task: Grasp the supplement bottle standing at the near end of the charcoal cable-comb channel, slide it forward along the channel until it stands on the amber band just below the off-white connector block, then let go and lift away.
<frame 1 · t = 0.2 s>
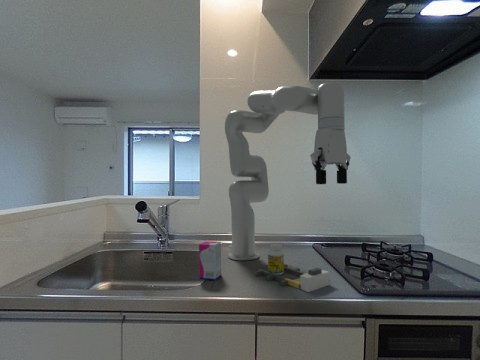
hand: (331, 183, 90), 31 cm above the counter, tool pointing down, fingers open, 9 cm apart
supplement box: (210, 277, 100), on the counter
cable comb: (288, 277, 99), on the counter
supplement bottle: (276, 273, 104), on the counter
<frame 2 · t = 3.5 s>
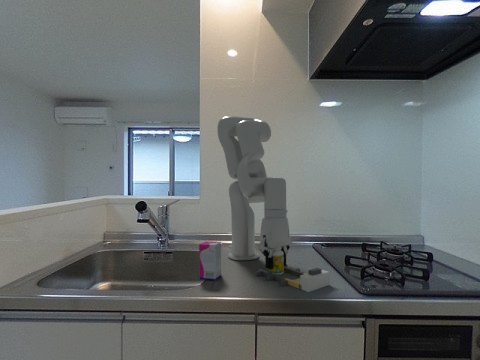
hand: (275, 266, 104), 2 cm above the counter, tool pointing down, fingers closed on supplement bottle, 5 cm apart
supplement bottle: (276, 273, 104), on the counter, touching gripper
everything else where it was.
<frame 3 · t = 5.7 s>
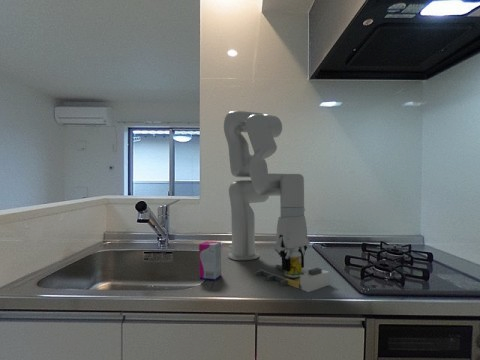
hand: (292, 268, 98), 4 cm above the counter, tool pointing down, fingers closed on supplement bottle, 5 cm apart
supplement bottle: (293, 275, 98), point 1 cm above the counter, touching gripper
everything else where it was.
when the fingers open (3 cm above the counter, at t = 7.9 s): supplement bottle stays where it is, resting on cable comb.
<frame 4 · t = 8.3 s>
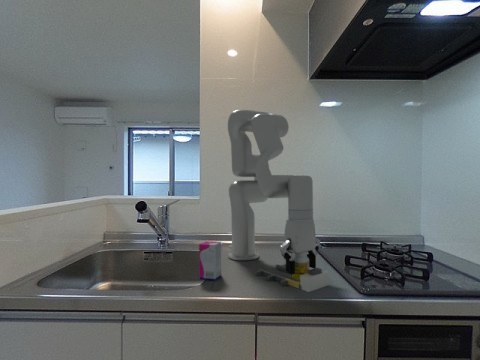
hand: (301, 270, 95), 4 cm above the counter, tool pointing down, fingers open, 9 cm apart
supplement bottle: (300, 281, 95), resting on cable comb
everything else where it was.
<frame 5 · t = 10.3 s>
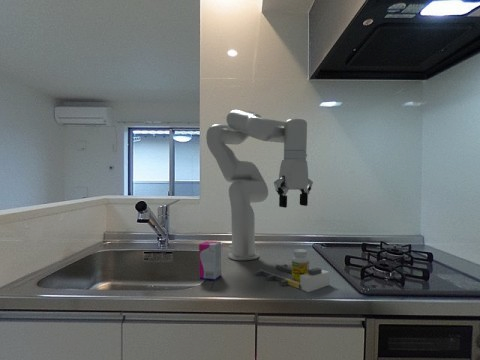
hand: (293, 206, 104), 23 cm above the counter, tool pointing down, fingers open, 9 cm apart
nothing on the counter moved.
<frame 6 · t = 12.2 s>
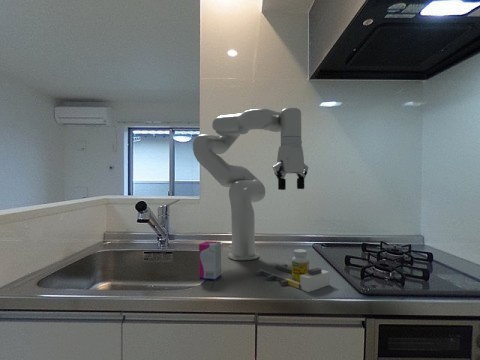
hand: (291, 189, 111), 28 cm above the counter, tool pointing down, fingers open, 9 cm apart
nothing on the counter moved.
at the end: supplement bottle 0.5 cm from the target spot, resting on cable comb; supplement bottle tilted 0°; the gripper is holding nothing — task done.
